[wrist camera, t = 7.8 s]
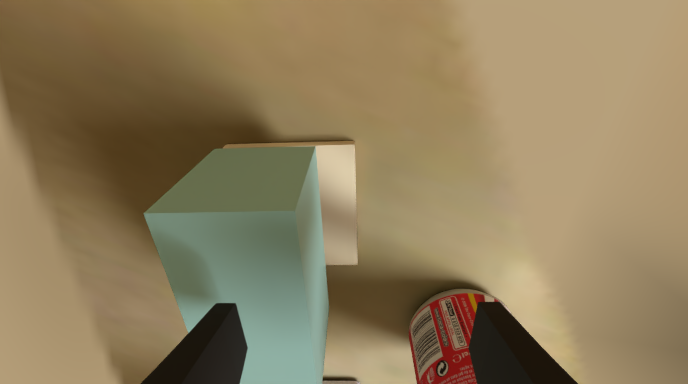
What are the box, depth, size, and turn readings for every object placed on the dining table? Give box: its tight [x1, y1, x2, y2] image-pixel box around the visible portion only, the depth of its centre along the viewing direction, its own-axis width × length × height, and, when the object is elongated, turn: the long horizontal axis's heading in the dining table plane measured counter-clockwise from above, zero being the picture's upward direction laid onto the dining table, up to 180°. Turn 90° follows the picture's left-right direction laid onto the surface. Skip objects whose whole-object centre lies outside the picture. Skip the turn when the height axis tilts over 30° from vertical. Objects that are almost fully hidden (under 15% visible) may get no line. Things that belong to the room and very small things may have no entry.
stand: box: [223, 141, 358, 265], centre depth 18 cm, size 8×7×3 cm
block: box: [143, 146, 329, 384], centre depth 15 cm, size 10×5×6 cm, turn 2°
